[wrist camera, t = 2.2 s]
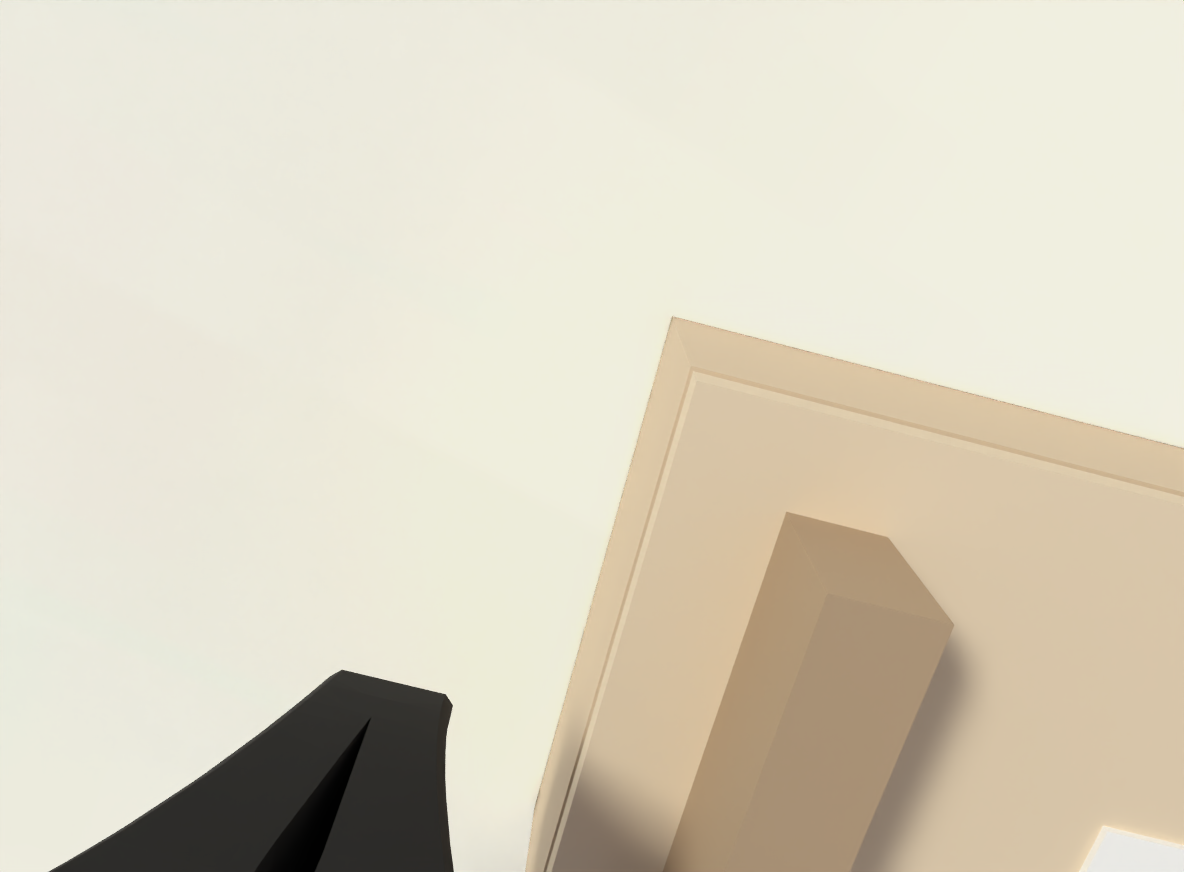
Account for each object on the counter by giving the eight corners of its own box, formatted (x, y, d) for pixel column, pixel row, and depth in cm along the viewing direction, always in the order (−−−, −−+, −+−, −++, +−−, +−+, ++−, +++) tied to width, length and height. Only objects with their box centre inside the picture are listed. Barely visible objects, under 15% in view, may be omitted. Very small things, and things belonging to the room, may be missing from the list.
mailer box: (534, 806, 16) (507, 994, 13) (672, 316, 14) (690, 365, 10) (1204, 965, 17) (1373, 1190, 13) (1470, 522, 14) (1784, 646, 10)
